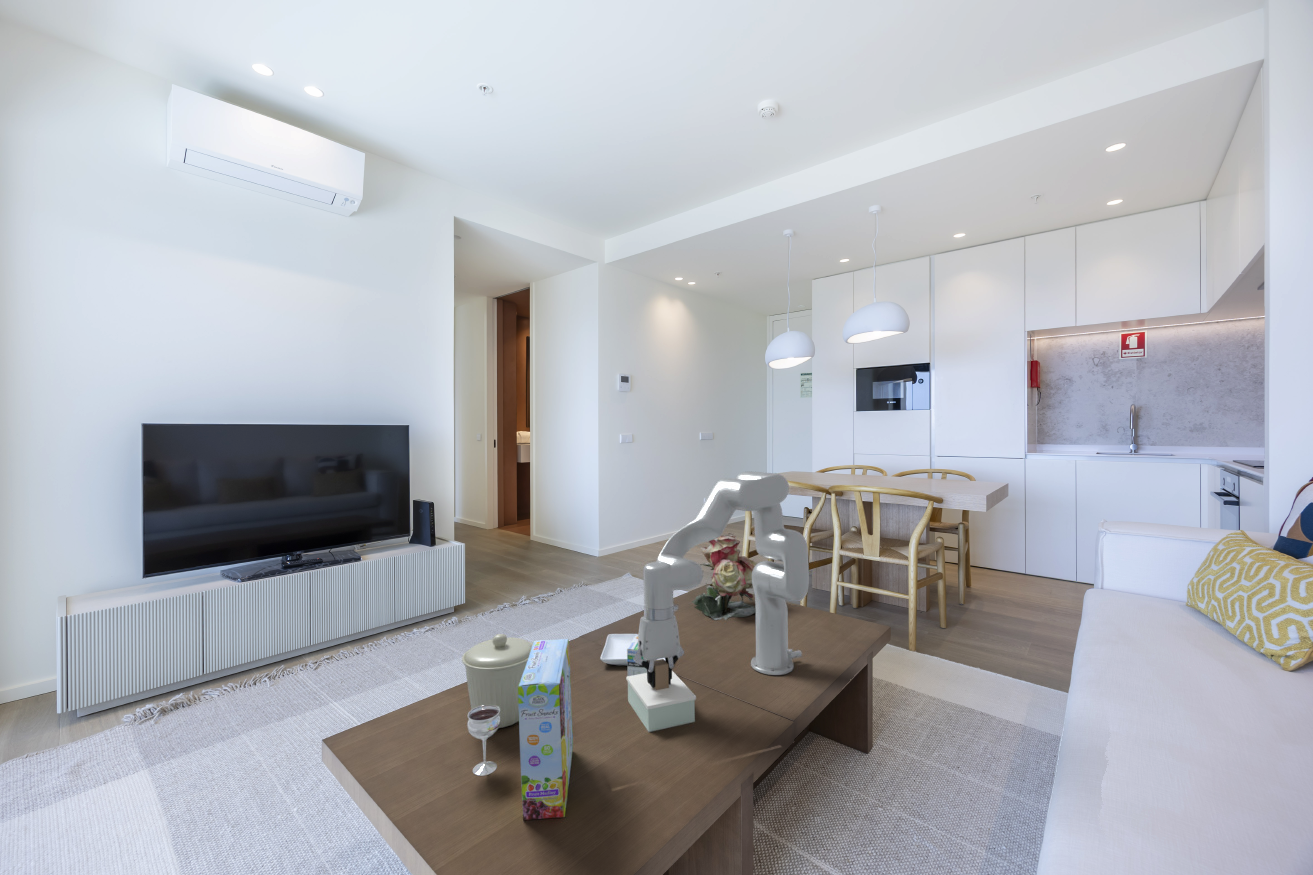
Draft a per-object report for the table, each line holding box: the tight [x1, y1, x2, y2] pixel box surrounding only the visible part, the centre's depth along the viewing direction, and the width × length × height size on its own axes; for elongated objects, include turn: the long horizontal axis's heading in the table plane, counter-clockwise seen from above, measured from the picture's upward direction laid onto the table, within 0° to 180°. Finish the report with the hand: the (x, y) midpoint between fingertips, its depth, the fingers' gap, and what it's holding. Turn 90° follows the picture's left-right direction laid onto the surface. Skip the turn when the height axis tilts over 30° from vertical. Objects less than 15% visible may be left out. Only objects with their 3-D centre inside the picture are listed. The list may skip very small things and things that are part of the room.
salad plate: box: [599, 633, 665, 666], centre depth 173 cm, size 21×21×3 cm
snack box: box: [518, 638, 574, 821], centre depth 110 cm, size 22×9×26 cm, turn 5°
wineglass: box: [466, 705, 501, 777], centre depth 115 cm, size 7×7×12 cm
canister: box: [461, 633, 533, 729], centre depth 136 cm, size 18×18×21 cm
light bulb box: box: [626, 636, 657, 676], centre depth 156 cm, size 11×7×11 cm, turn 168°
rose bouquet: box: [691, 532, 758, 621], centre depth 217 cm, size 26×29×30 cm
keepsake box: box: [627, 682, 696, 733], centre depth 137 cm, size 16×12×6 cm
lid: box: [625, 659, 697, 710], centre depth 137 cm, size 17×13×7 cm
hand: (659, 682), depth 137 cm, fingers closed on lid, 3 cm apart
